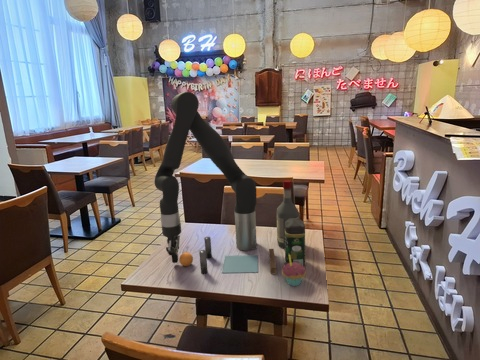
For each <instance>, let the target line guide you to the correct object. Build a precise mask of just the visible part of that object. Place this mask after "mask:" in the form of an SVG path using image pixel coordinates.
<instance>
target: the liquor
mask: <svg viewBox="0 0 480 360" xmlns="http://www.w3.org/2000/svg"><path fill="white" fill-rule="evenodd" d="M282 189H283V199H282V202H281V203H280V205H278V207H277V208H276V240H277V244H278V248H281V249H284V250H285V222H286V221H287V220H288V219H289V218H299V219H300V212H299V209H298V208H297V206H296V205H295V204H294V203H293V200H292V180H291V179H284V180H282Z"/></svg>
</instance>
